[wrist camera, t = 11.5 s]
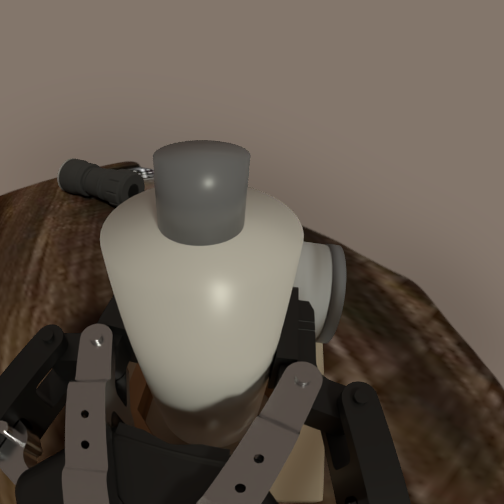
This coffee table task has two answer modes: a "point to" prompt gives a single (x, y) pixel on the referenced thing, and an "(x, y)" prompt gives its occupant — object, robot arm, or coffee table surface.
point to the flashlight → (99, 181)
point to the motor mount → (310, 440)
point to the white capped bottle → (203, 286)
